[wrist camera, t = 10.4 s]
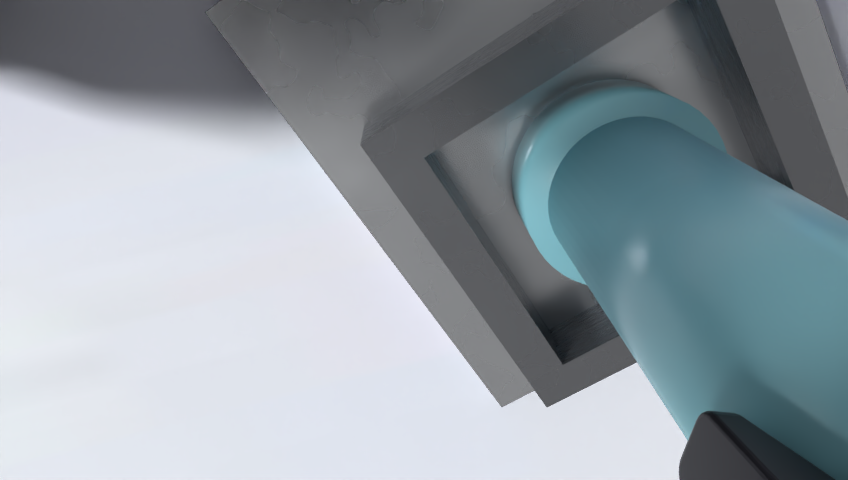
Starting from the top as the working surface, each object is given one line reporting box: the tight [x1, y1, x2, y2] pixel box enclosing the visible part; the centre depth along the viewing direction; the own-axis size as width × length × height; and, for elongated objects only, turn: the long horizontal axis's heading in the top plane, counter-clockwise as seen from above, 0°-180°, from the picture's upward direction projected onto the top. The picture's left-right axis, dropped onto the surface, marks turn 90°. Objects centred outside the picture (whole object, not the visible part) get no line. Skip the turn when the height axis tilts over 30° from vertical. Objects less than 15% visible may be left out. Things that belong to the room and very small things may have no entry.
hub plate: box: [205, 0, 848, 407], centre depth 18 cm, size 16×14×3 cm
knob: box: [512, 79, 848, 480], centre depth 13 cm, size 6×6×13 cm
